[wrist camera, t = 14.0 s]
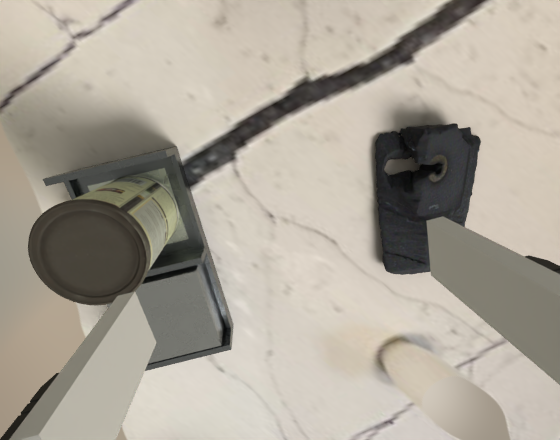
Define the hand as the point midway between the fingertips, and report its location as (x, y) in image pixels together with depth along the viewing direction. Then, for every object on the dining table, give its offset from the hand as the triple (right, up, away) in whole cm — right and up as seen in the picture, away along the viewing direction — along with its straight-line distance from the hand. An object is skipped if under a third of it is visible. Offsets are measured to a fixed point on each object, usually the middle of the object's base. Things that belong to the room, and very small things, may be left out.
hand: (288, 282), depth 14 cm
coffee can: (-19, +4, +28) cm, 34 cm away
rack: (-18, -2, +31) cm, 36 cm away
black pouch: (+20, +6, +33) cm, 39 cm away
